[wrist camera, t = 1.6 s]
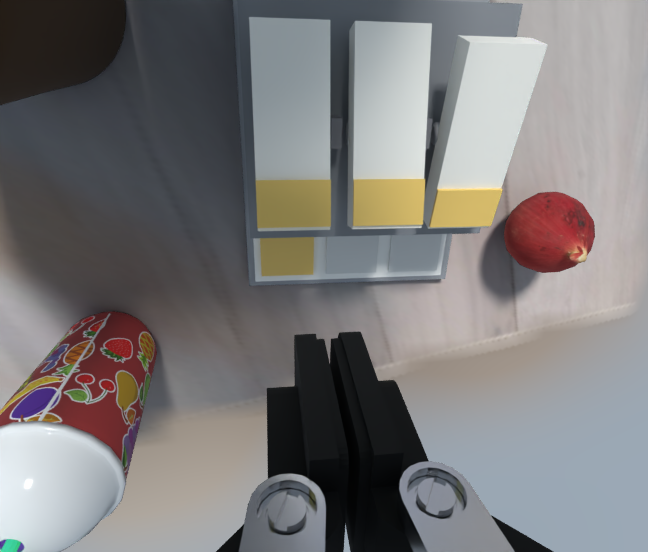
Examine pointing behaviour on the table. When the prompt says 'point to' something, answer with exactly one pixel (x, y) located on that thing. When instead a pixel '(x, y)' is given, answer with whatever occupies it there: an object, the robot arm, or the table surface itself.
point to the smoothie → (73, 433)
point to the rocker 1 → (291, 122)
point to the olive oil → (56, 43)
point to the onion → (549, 232)
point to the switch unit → (342, 241)
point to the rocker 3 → (479, 128)
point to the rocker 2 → (387, 123)
